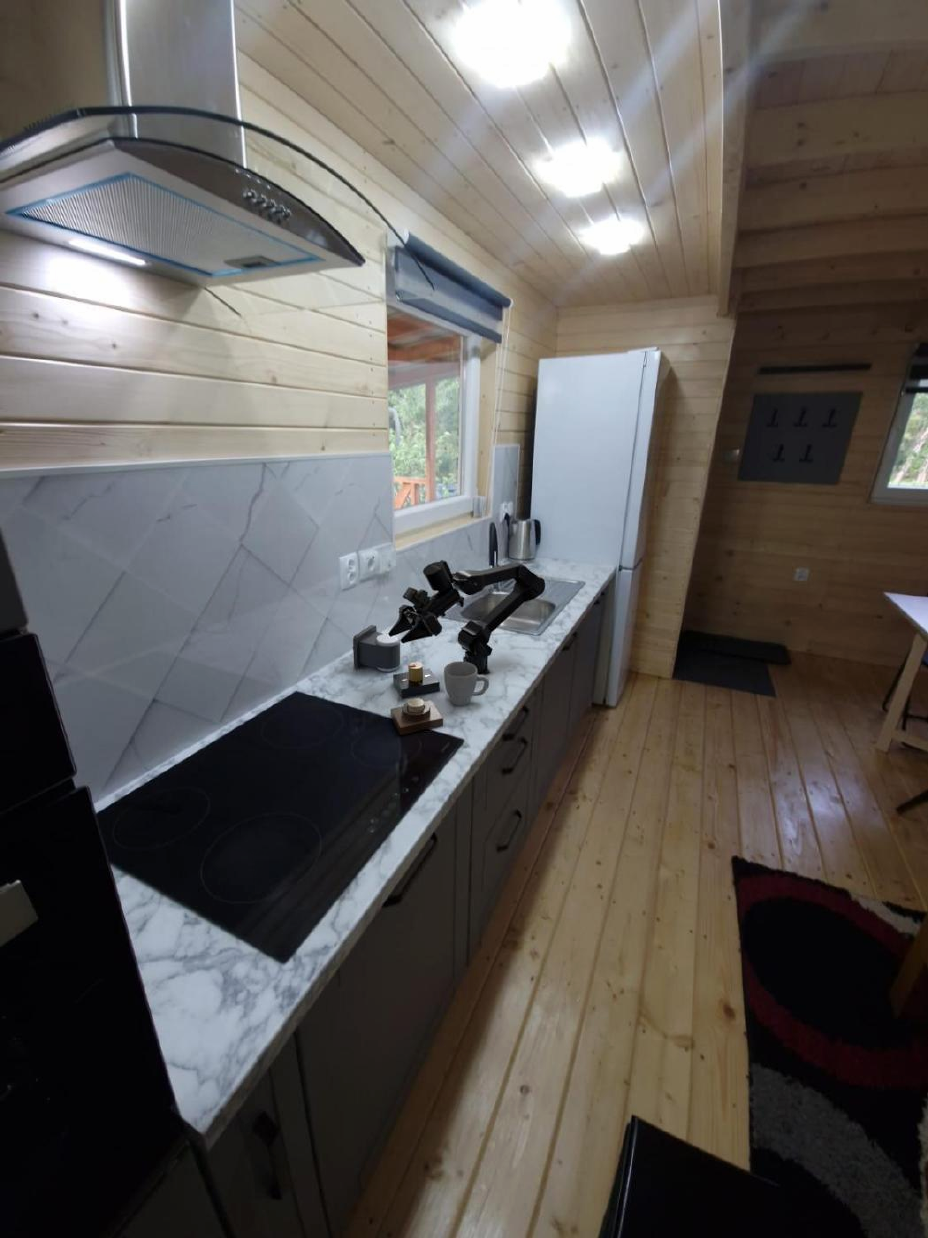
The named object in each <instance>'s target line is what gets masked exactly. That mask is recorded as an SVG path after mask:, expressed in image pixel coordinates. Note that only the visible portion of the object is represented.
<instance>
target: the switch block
mask: <svg viewBox="0 0 928 1238" xmlns="http://www.w3.org/2000/svg"><path fill="white" fill-rule="evenodd" d="M409 701H410V700H408V701H407V702H405V703H404V704H403V705H402V706H397V707H393V708H390V717H391V720H392V721H393V723H394V725H395V727H396V728H397V731H398V733H399V735H400V736H403V735H407V734H411V733H416V732H421V731H425V730H429V729H434V728H438V727H443V726H444V717H443V716H442V714H441V712H440V711H439V710H438V708H437V707H436V706H435V704H434V702H433V701H432V700H426V701H425V700H423V701H424V710H423V711H421V712H411V711H409V710H408V702H409Z"/></svg>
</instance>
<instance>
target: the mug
mask: <svg viewBox="0 0 928 1238" xmlns="http://www.w3.org/2000/svg"><path fill="white" fill-rule="evenodd" d="M443 677H444V687H445V690H446V692H447V696H448V697H449V699H450V702H451V703H452V704H453V705H456V706H466V705H468V704H470V702H471V699H472V697H478V696H479V697H480V696H483V695H484V694H485V693H486V692H487V690H488V688H489V686H490V681H489V678H488V676H487V675H486V674H482V675H478V674H477V668H476V666H475V665H473V664H471V663H468V662H463V661H452V662H450V663H448V664H446V665H445V666H444V669H443ZM477 682H483V686H482V689H480V690H478V691H475V690H476V687H477Z"/></svg>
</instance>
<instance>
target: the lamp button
mask: <svg viewBox="0 0 928 1238" xmlns="http://www.w3.org/2000/svg"><path fill="white" fill-rule="evenodd" d="M408 701H409V702H408ZM408 701H407V702H408V710H409V711H411V712H421V711H423V710H424V701H425V700H423V699H422V698H418V697H417V698H412V699H409V700H408Z"/></svg>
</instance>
